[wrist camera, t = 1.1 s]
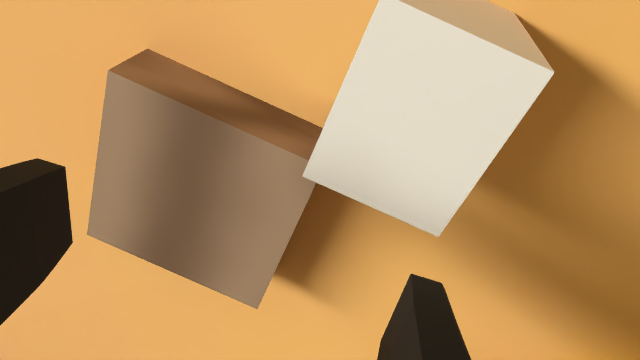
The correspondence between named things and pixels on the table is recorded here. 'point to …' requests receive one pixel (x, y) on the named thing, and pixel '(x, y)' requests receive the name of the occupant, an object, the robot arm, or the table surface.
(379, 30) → the offwhite block
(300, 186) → the walnut base
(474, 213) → the table surface
